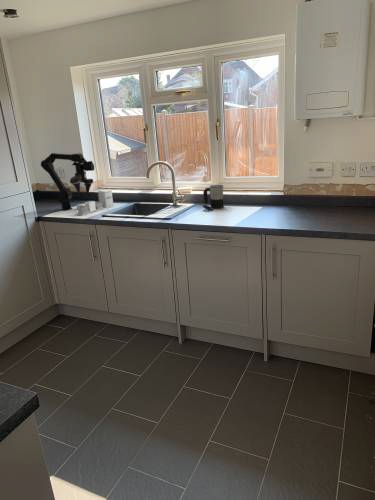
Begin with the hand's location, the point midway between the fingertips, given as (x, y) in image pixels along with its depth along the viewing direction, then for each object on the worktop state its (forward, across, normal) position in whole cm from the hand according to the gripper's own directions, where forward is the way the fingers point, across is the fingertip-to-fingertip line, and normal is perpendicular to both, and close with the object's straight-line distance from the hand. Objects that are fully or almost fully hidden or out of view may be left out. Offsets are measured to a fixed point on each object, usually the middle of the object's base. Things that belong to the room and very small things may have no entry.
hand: (83, 192), depth 293 cm
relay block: (+12, -4, -1) cm, 13 cm away
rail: (+12, +13, -7) cm, 19 cm away
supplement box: (+12, +13, +9) cm, 20 cm away
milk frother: (+12, +94, +26) cm, 98 cm away
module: (+11, +13, -7) cm, 18 cm away
